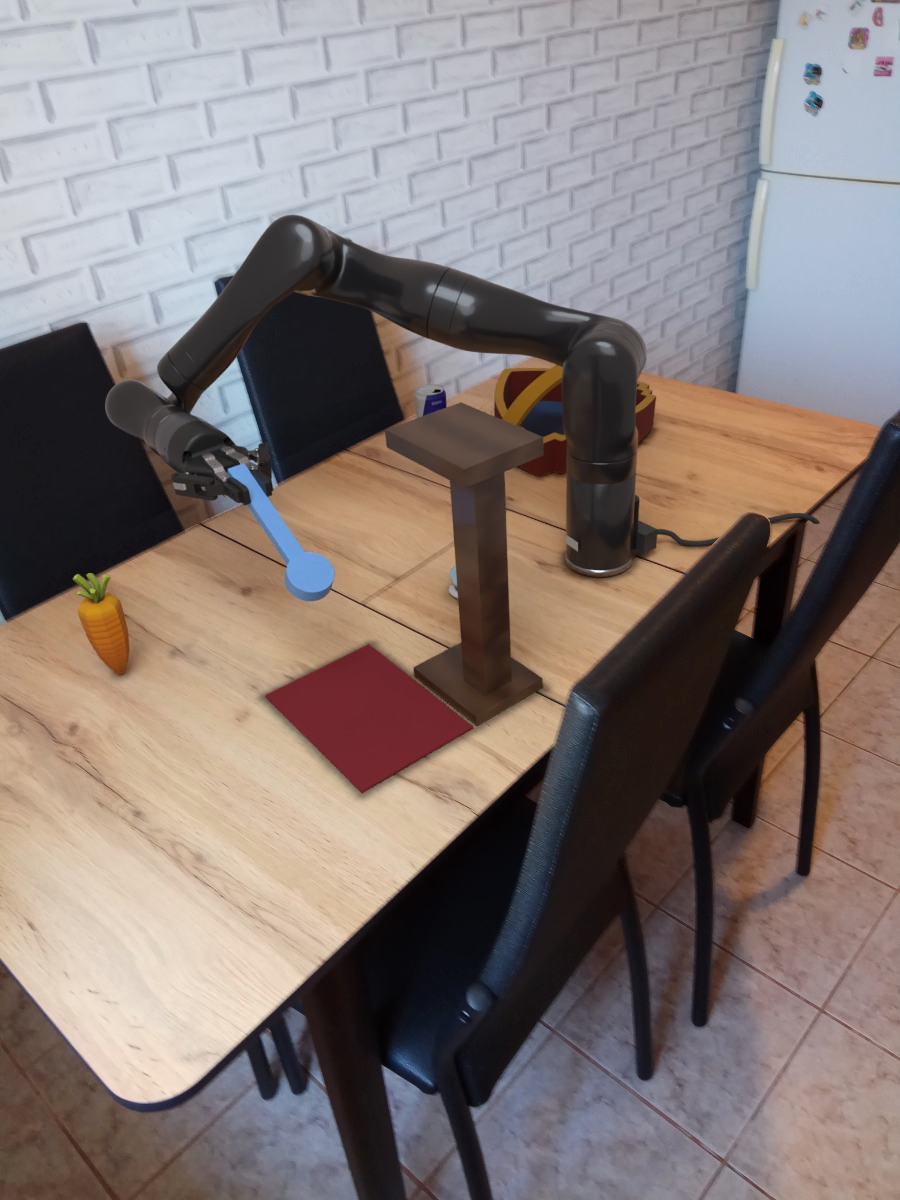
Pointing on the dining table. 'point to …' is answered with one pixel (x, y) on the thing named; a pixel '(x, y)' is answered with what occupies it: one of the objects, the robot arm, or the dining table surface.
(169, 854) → the dining table surface
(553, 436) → the decorative basket
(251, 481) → the blue disc paddle
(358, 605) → the dining table surface
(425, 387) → the energy drink
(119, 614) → the carrot
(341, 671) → the cloth
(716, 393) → the dining table surface
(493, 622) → the stand
